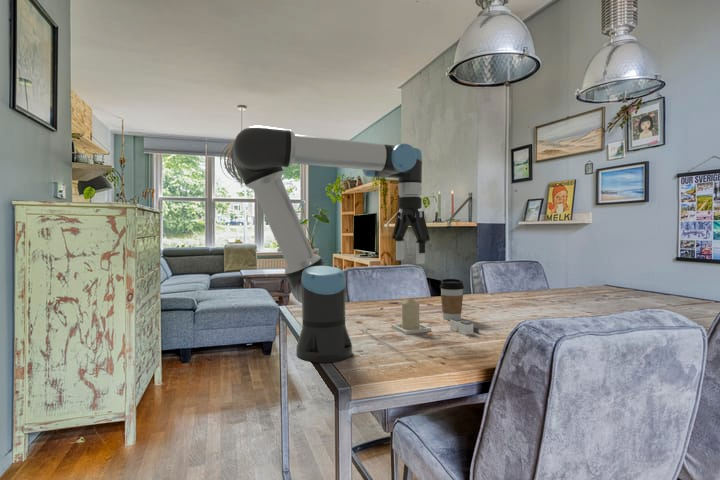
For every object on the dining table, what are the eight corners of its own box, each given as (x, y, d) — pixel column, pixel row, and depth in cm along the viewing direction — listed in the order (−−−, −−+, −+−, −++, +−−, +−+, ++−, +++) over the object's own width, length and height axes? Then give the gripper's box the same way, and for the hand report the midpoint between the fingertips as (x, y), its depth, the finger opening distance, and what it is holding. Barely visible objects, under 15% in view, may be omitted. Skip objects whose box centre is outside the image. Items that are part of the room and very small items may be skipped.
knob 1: (456, 331, 127) (456, 320, 127) (450, 329, 130) (450, 318, 130) (463, 330, 129) (463, 319, 128) (458, 328, 131) (458, 317, 131)
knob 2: (465, 334, 123) (465, 323, 123) (459, 332, 126) (459, 321, 126) (473, 333, 124) (473, 322, 124) (466, 331, 127) (466, 320, 127)
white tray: (418, 347, 116) (418, 336, 116) (388, 332, 133) (388, 322, 133) (480, 338, 125) (480, 327, 125) (445, 324, 142) (445, 315, 142)
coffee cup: (462, 319, 149) (462, 278, 148) (465, 325, 140) (465, 282, 140) (438, 319, 150) (438, 278, 149) (441, 325, 141) (440, 282, 140)
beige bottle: (418, 332, 128) (418, 300, 127) (401, 331, 129) (401, 299, 128) (419, 327, 133) (419, 297, 133) (402, 327, 134) (402, 296, 134)
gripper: (441, 194, 123) (440, 264, 124) (401, 199, 146) (401, 258, 147) (419, 193, 120) (419, 265, 121) (382, 198, 143) (382, 259, 144)
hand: (409, 261), depth 134 cm, fingers open, 13 cm apart
